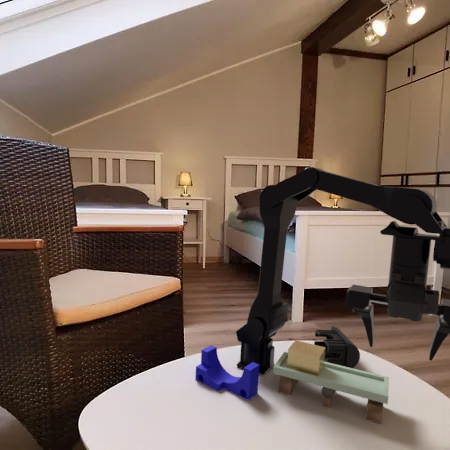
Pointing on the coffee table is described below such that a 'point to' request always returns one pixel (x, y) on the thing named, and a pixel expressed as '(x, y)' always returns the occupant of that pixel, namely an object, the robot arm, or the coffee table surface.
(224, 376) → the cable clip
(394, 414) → the coffee table surface
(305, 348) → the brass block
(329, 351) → the end cap
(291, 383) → the beam stand
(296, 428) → the coffee table surface
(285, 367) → the green rimmed tray
